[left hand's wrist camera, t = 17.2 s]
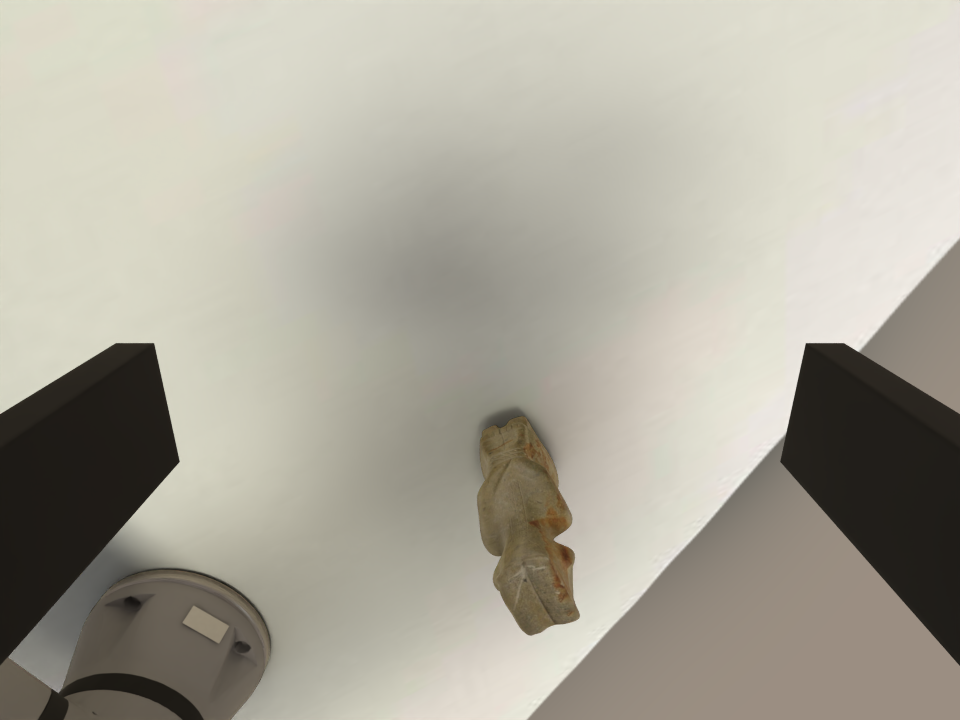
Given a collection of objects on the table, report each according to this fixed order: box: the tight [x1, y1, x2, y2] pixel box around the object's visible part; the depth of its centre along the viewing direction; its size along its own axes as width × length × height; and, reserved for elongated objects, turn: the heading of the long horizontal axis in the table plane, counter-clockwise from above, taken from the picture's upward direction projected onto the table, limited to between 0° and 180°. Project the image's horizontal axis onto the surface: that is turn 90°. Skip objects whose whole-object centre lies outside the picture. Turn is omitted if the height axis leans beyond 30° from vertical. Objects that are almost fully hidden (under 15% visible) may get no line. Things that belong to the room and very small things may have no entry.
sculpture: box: [477, 416, 580, 635], centre depth 39 cm, size 6×7×15 cm
